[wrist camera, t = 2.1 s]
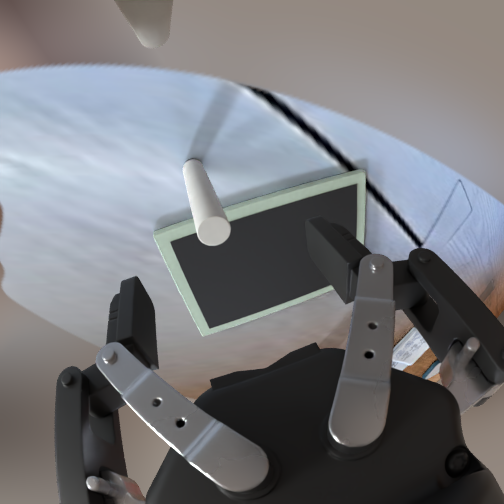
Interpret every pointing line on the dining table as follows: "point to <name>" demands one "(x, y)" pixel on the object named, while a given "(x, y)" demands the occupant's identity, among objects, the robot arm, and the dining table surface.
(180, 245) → the tablet
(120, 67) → the dining table surface
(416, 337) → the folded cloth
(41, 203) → the dining table surface
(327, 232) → the robot arm
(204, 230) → the stylus
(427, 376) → the external hard drive
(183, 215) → the dining table surface
